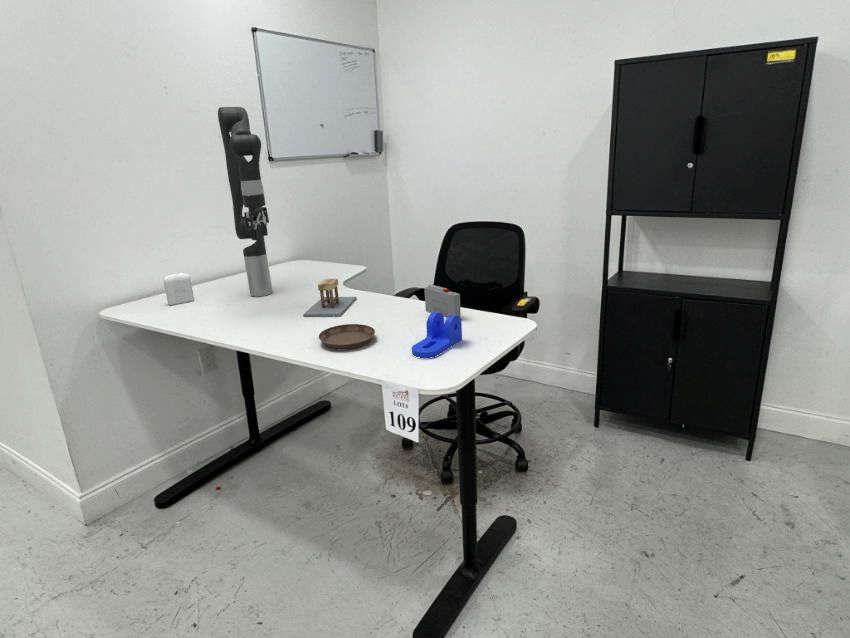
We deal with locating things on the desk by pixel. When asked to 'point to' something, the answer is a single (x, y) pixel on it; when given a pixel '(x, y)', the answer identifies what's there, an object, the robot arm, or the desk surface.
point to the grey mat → (328, 311)
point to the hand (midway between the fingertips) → (259, 237)
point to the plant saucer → (347, 336)
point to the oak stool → (328, 291)
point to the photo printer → (178, 288)
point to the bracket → (439, 335)
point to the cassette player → (442, 301)
